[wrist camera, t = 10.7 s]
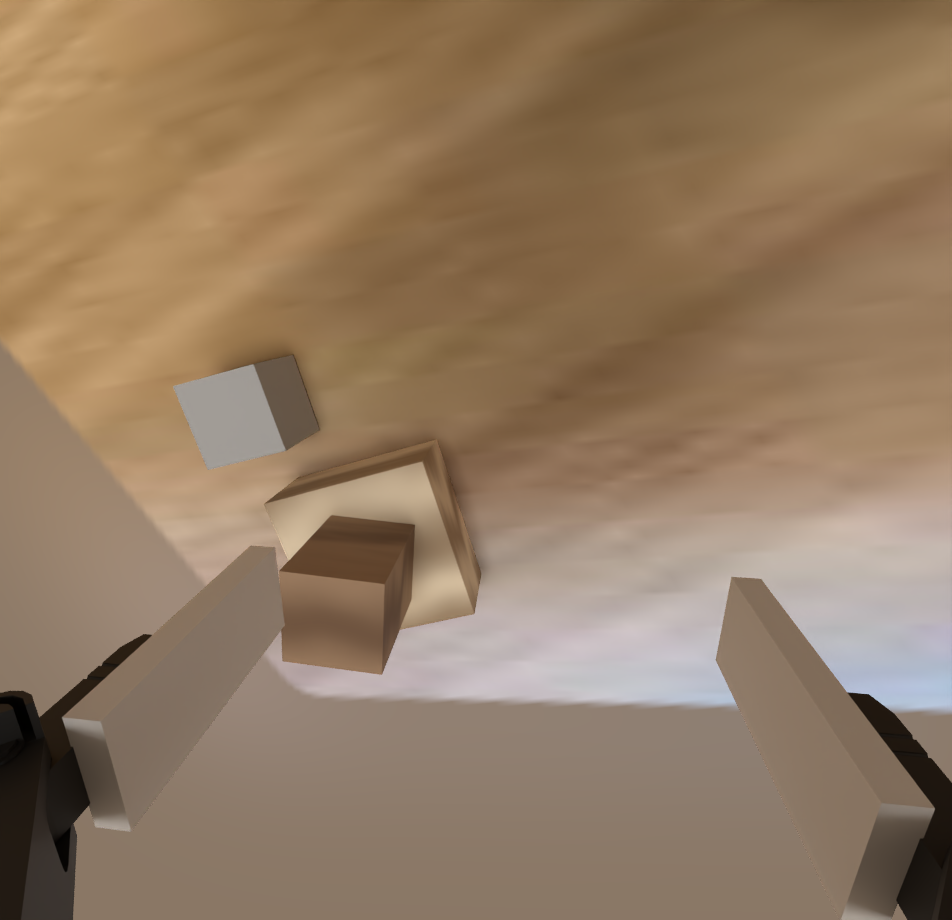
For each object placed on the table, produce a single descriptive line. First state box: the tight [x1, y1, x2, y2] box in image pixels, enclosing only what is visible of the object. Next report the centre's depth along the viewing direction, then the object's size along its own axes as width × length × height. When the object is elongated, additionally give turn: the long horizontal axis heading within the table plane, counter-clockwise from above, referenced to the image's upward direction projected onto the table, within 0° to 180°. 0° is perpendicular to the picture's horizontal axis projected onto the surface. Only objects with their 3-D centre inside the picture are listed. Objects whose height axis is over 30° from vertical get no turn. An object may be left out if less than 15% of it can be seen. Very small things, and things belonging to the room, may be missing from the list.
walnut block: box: [279, 515, 415, 675], centre depth 34 cm, size 6×6×8 cm
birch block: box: [264, 439, 481, 630], centre depth 40 cm, size 12×12×6 cm
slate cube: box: [173, 355, 319, 470], centre depth 38 cm, size 6×6×6 cm
